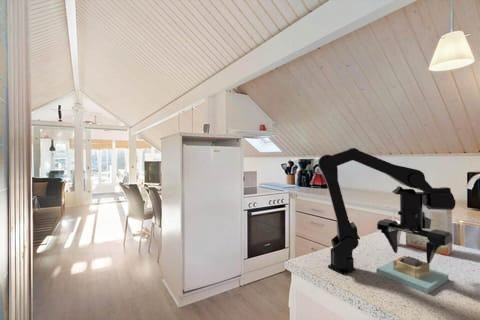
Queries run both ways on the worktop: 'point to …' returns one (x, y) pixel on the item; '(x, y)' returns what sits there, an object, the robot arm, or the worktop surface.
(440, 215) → the cracker box
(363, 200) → the worktop surface
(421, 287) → the post board
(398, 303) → the worktop surface
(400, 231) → the smoothie
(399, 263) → the square frame
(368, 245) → the worktop surface
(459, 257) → the worktop surface
